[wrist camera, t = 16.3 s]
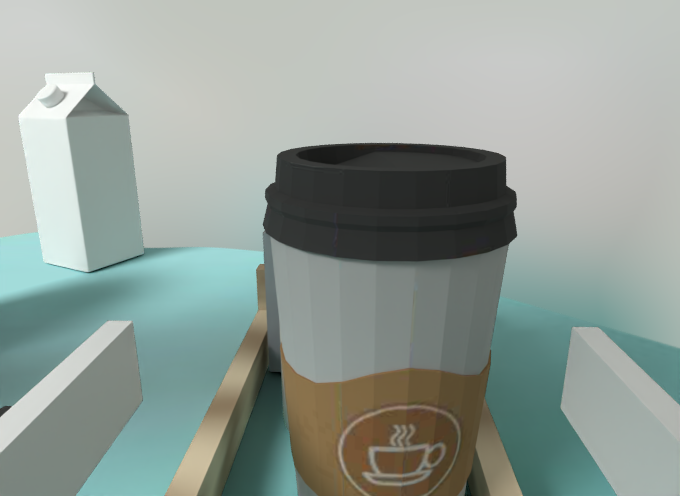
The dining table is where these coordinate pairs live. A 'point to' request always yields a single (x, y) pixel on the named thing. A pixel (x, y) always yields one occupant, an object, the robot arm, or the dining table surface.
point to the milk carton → (81, 174)
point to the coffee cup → (387, 310)
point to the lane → (238, 401)
